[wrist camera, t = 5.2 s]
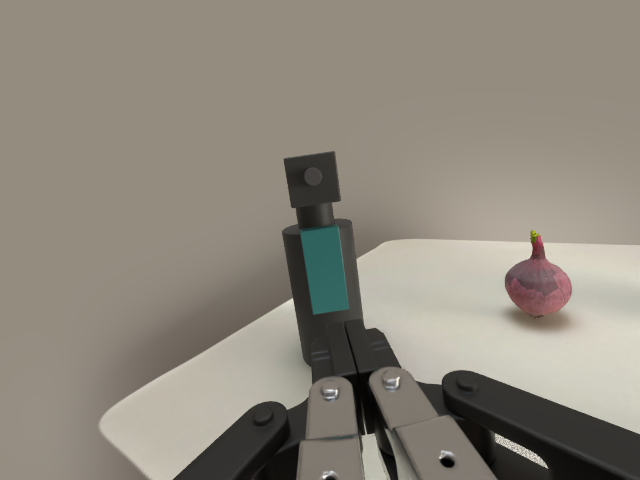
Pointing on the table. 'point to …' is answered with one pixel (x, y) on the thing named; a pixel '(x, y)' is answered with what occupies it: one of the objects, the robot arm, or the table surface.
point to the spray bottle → (312, 211)
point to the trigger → (324, 268)
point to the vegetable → (538, 283)
